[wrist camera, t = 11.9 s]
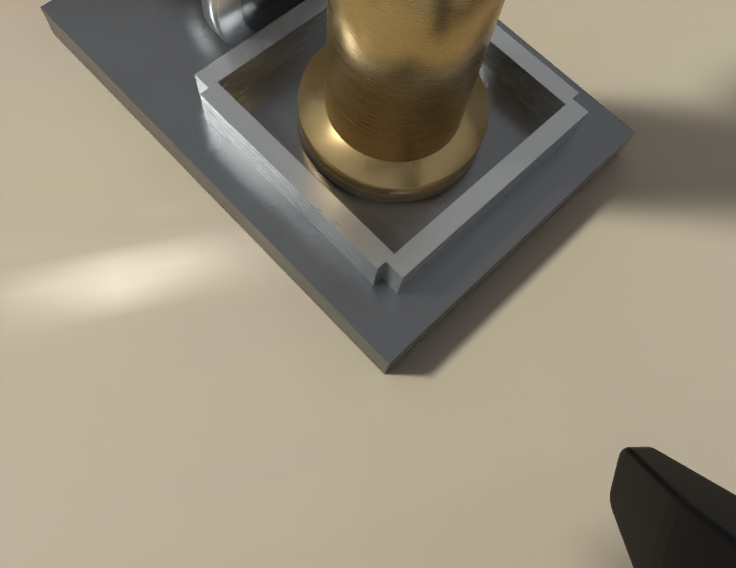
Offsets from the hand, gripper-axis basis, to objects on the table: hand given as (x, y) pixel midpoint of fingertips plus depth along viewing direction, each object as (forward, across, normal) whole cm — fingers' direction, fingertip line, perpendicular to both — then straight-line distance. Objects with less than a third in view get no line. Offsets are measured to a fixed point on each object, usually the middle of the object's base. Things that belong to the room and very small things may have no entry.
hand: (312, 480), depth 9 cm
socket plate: (+21, -2, -2) cm, 22 cm away
